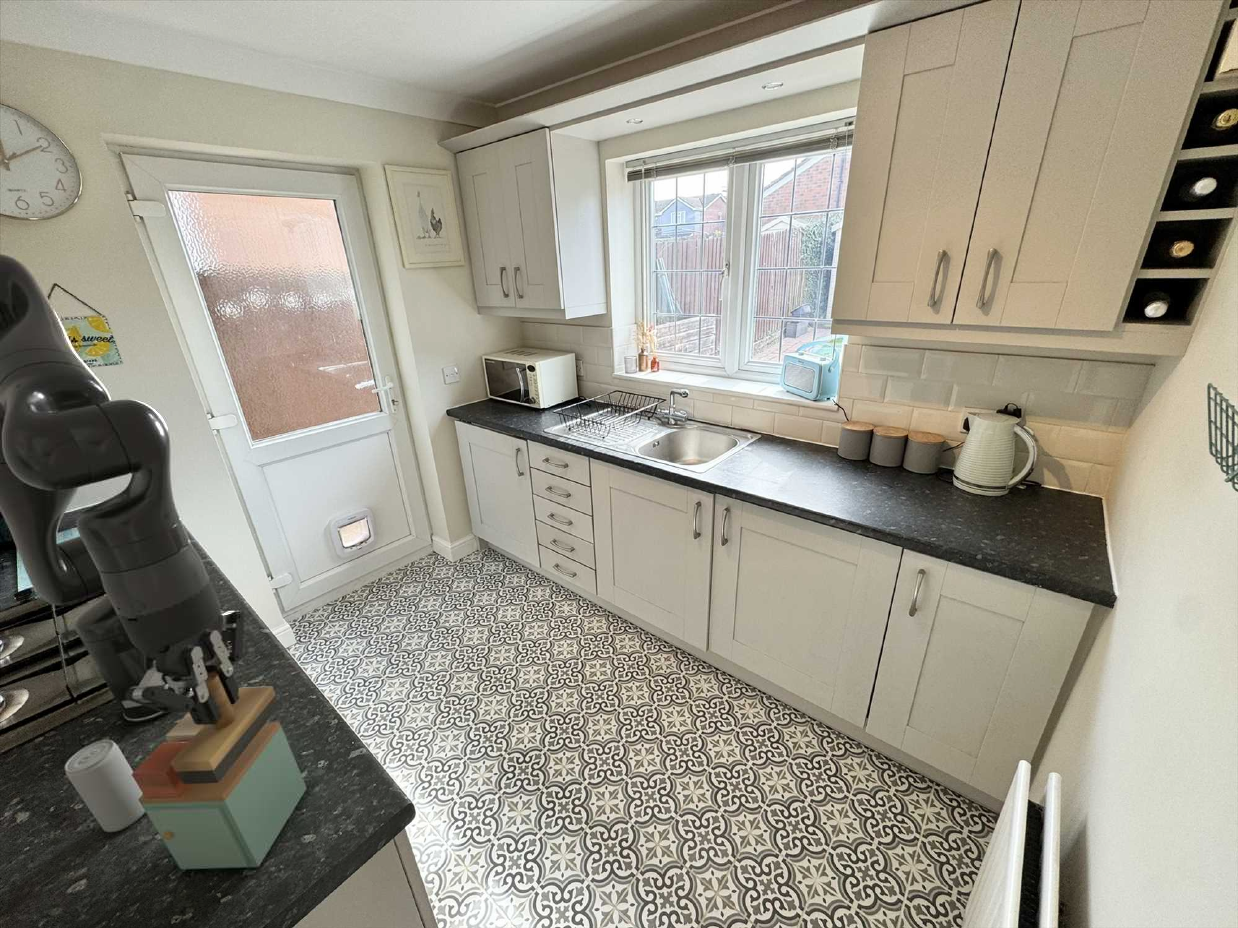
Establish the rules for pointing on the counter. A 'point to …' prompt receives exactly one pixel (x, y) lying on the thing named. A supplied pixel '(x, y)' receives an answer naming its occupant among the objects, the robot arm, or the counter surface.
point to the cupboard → (232, 808)
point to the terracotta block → (160, 773)
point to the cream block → (184, 730)
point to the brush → (224, 732)
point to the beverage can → (106, 785)
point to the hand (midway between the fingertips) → (220, 711)
